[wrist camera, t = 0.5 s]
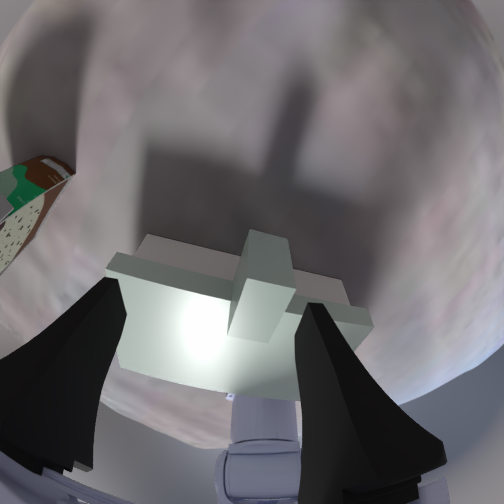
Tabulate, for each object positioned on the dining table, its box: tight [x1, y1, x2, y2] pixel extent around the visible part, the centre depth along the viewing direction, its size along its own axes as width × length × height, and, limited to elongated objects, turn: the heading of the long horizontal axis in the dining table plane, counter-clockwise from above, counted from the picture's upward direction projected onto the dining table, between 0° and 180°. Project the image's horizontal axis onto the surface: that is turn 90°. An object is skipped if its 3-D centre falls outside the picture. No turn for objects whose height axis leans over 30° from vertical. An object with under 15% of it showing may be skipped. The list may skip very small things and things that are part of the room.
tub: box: [134, 234, 350, 305], centre depth 21 cm, size 10×16×5 cm, turn 74°
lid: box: [106, 229, 374, 401], centre depth 17 cm, size 15×18×4 cm
